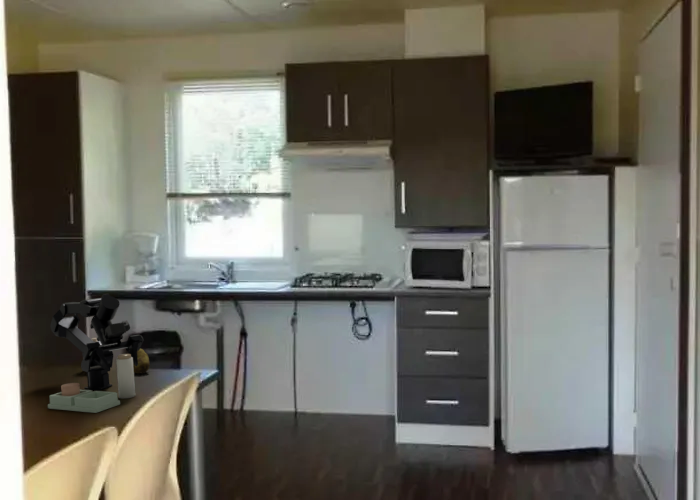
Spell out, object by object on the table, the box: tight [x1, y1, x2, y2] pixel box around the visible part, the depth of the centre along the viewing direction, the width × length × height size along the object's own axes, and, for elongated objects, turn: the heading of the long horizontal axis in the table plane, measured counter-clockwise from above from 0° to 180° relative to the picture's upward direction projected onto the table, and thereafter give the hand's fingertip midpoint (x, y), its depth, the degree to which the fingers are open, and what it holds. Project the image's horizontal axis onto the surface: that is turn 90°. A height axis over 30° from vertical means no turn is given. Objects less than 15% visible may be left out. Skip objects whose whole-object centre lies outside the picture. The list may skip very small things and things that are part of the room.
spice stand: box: [47, 382, 121, 414], centre depth 243 cm, size 19×10×6 cm, turn 63°
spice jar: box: [115, 353, 136, 399], centre depth 253 cm, size 5×5×13 cm
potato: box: [133, 348, 151, 374], centre depth 291 cm, size 8×13×8 cm, turn 11°
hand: (123, 368), depth 253 cm, fingers open, 9 cm apart
